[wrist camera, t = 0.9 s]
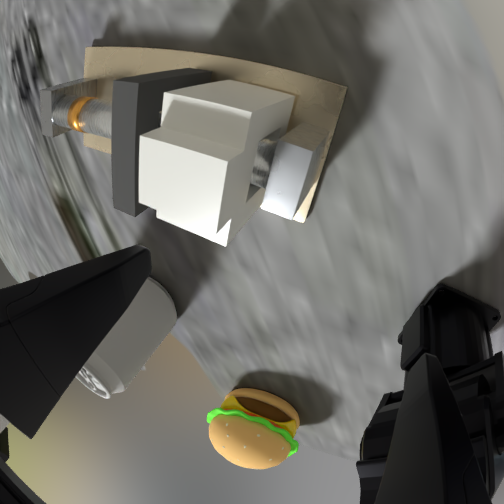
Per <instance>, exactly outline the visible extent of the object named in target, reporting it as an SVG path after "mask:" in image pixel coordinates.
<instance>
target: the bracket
mask: <svg viewBox="0 0 504 504" xmlns="http://www.w3.org/2000/svg"><path fill="white" fill-rule="evenodd" d="M294 99H295V96H293V95H290V94H286V93H283V92H279V91H275V90H271V89H268V88H264V87H260V86H256V85H251V84H247V83H243V82H238V81H234V80H224V81H218V82H212V83H206V84H201V85H196V86H191V87H186V88H181V89H176V90H172V91H168V92H164V97H163V107H162V117H161V127H160V128H157V129H155V130H152V131H150V132H147V133H145V134H142V135H140V145H139V203H141V204H144V205H146V206H149V207H151V208H154V209H156V210H157V216H156V217H157V218H159V219H161V220H164V221H166V222H169V223H171V224H173V225H176V226H178V227H180V228H183V229H185V230H187V231H190V232H192V233H195V234H197V235H199V236H202V237H204V238H206V239H209V240H211V241H213V242H216V243H218V244H221V245H223V246H225V247H226V246H227V245H228V244H229V243H230V242H231V240H232V239H233V238H234V237H235V236H236V234H237V233H238V232H239V231H240V230H241V228H242V227H243V226H244V225H245V224H246V223H247V221H248V220H249V219H250V218H251V217H252V216H253V214H254V213H255V212H256V211H257V210H258V209H259V207H260V206H261V205H262V203H263V199H264V195H265V191H266V189H264V188H261V187H259V186H256V185H253V184H250V180H251V176H252V171H253V166H254V162H255V157H256V152H257V148H258V143H259V141H260V140H261V139H263V138H266V139H269V140H272V141H275V142H278V139H280V138H281V137H282V136H284V135H285V134H286V131H287V127H288V123H289V119H290V115H291V111H292V107H293V103H294Z"/></svg>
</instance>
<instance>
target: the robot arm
mask: <svg viewBox="0 0 504 504" xmlns="http://www.w3.org/2000/svg"><path fill="white" fill-rule="evenodd" d="M151 269H152V266H151V256H150V250H149V249H148V248H146V247H144V246H142V245H135V246H131V247H128V248H125V249H122V250H119V251H116V252H113V253H109V254H106V255H103V256H100V257H97V258H94V259H91V260H88V261H85V262H82V263H79V264H76V265H73V266H70V267H67V268H64V269H61V270H58V271H55V272H52V273H49V274H46V275H45V276H41V277H38V278H35V279H32V280H29V281H26V282H23V283H20V284H16V285H13V286H9V287H6V288H2V289H0V504H46V503H45V502H44V501H43V500H42V499H41V498H39V497H38V496H37V495H36V494H35V493H34V492H33V491H32V490H31V489H30V488H29V487H28V486H27V485H26V484H25V483H24V482H23V481H22V480H21V479H20V478H19V477H18V476H17V475H16V474H15V473H14V472H13V471H12V469H11V468H10V467H9V466H8V465H7V464H6V463H5V462H6V461H7V460H8V458H9V445H8V428H7V427H6V426H7V425H8V424H9V423H11V424H13V425H14V426H15V427H16V428H17V429H19V430H20V431H21V432H22V433H24V434H25V435H26V436H27V437H28V438H30V439H32V438H33V436H34V435H35V434H36V432H37V431H38V429H39V428H40V426H41V425H42V423H43V422H44V420H45V419H46V417H47V416H48V415H49V413H50V411H51V410H52V409H53V408H54V406H55V405H56V403H57V402H58V400H59V399H60V397H61V396H62V394H63V393H64V391H65V390H66V389H67V388H68V386H69V384H70V383H71V382H72V381H73V379H74V378H75V377H76V375H77V374H78V372H79V371H80V370H81V368H82V367H83V366H84V364H85V363H86V362H87V360H88V359H89V358H90V356H91V355H92V354H93V352H94V351H95V350H96V348H97V347H98V346H99V344H100V343H101V342H102V341H103V339H104V338H105V337H106V335H107V334H108V333H109V332H110V330H111V329H112V328H113V326H114V325H115V324H116V323H117V321H118V320H119V319H120V318H121V316H122V315H123V314H124V312H125V311H126V310H127V308H128V307H129V306H130V304H131V303H132V301H133V299H134V298H135V296H136V295H137V293H138V292H139V290H140V289H141V287H142V285H143V284H144V282H145V281H146V279H147V278H148V276H149V275H150V273H151ZM440 290H444V291H443V292H439V291H440ZM494 316H495V317H494ZM500 318H501V315H500V312H499V310H497V309H495V308H493V307H491V306H489V305H487V304H485V303H483V302H481V301H479V300H477V299H475V298H473V297H470V296H468V295H466V294H464V293H462V292H460V291H458V290H456V289H454V288H452V287H449V286H447V285H445V284H439V285H437V286H436V287H435V288H434V290H433V291H432V293H431V294H430V295H429V297H428V298H427V299H426V301H425V302H424V303H423V304H422V305H420V306H419V307H418V308H417V309H416V311H415V312H414V313H413V315H412V316H411V317H410V319H409V320H408V321H407V322H406V324H405V325H404V326H403V331H402V332H401V333H400V334H399V336H398V343H399V344H401V345H402V354H401V365H400V366H401V369H402V370H404V371H405V380H404V390H401V391H398V392H394V393H392V392H390V393H386V394H384V395H383V398H382V400H381V402H380V404H379V406H378V408H377V410H376V412H375V414H374V416H373V418H372V420H371V422H370V424H369V425H368V427H367V428H366V429H365V431H364V435H363V437H362V441H361V443H360V461H357V463H356V467H357V470H358V474H359V478H360V487H361V496H360V504H492V502H491V500H492V498H493V496H494V495H495V493H496V491H497V489H498V487H499V485H500V484H501V482H502V480H503V478H504V355H503V352H502V351H501V352H498V353H496V354H494V356H493V349H492V344H491V338H490V333H489V331H490V330H491V329H492V328H493V327H494V326H495V324H496V323H497V322H498V321H499V320H500Z"/></svg>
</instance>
